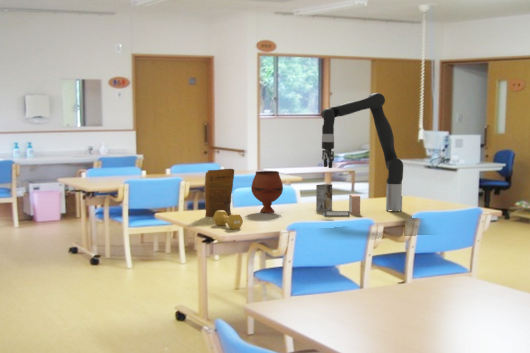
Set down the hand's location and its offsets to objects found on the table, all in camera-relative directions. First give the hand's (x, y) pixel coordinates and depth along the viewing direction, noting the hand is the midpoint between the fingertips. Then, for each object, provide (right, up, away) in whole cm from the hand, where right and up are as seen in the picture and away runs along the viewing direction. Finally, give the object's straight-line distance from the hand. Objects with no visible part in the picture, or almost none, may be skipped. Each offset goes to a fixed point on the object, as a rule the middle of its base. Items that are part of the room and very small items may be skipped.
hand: (327, 167), depth 454 cm
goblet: (-38, -28, -2) cm, 47 cm away
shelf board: (+3, -29, -10) cm, 30 cm away
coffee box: (-2, -27, +10) cm, 29 cm away
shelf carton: (+16, -28, -3) cm, 32 cm away
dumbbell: (-59, -33, -57) cm, 88 cm away
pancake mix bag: (-66, -29, -20) cm, 75 cm away
